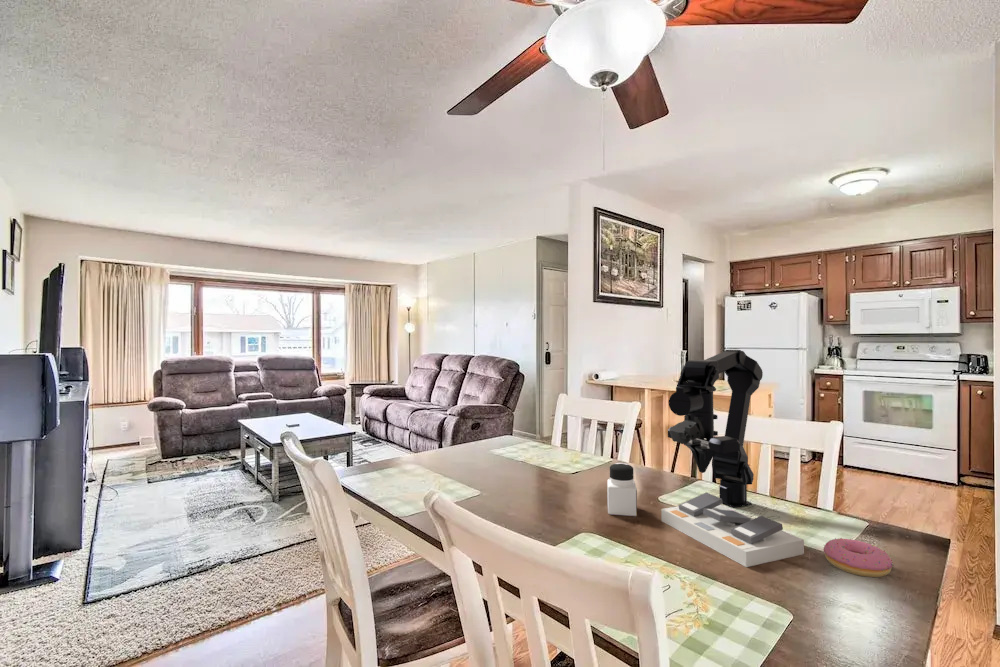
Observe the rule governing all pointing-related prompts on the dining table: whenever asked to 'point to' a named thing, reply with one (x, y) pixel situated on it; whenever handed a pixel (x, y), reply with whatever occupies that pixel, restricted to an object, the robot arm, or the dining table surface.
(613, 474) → the medicine bottle
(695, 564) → the dining table surface
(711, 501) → the block
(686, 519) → the switch unit
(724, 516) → the rocker middle
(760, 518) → the rocker
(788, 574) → the dining table surface
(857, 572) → the doughnut
